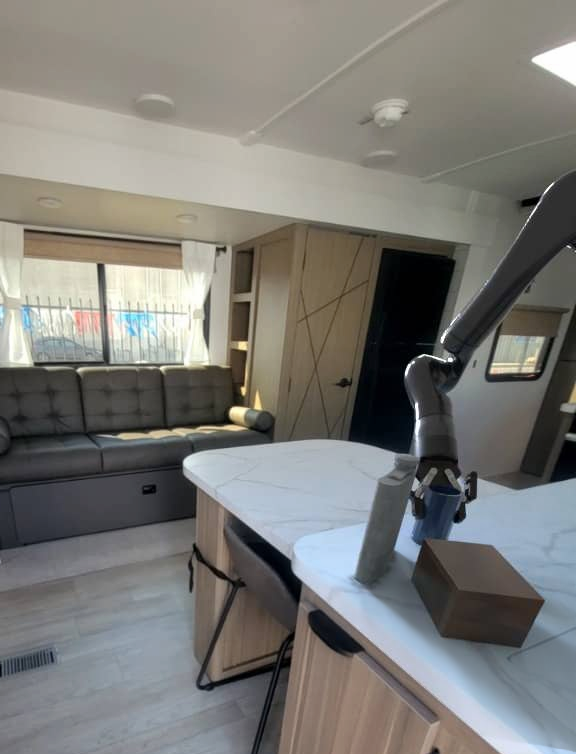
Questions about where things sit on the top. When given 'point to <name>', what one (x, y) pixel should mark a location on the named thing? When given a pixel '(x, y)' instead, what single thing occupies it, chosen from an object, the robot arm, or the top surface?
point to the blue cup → (437, 513)
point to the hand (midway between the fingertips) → (438, 520)
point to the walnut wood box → (475, 593)
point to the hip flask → (386, 518)
